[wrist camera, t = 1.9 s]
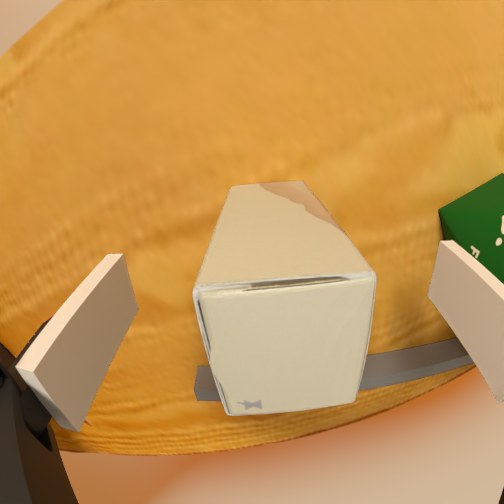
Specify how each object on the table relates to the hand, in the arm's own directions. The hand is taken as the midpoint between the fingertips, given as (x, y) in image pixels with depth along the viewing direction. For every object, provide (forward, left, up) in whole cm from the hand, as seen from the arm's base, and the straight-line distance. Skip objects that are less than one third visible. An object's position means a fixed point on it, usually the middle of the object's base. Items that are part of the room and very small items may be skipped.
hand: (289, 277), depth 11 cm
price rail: (+7, -13, -7) cm, 16 cm away
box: (0, 0, -7) cm, 7 cm away
